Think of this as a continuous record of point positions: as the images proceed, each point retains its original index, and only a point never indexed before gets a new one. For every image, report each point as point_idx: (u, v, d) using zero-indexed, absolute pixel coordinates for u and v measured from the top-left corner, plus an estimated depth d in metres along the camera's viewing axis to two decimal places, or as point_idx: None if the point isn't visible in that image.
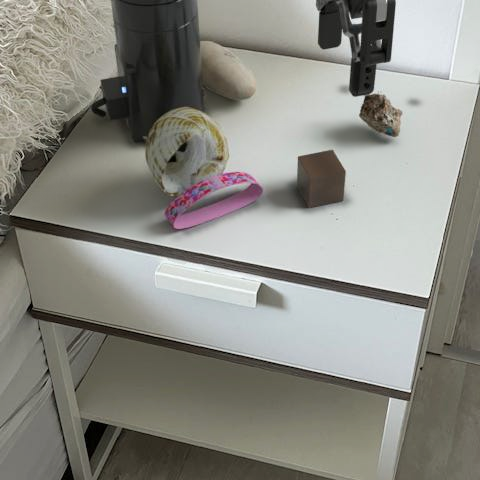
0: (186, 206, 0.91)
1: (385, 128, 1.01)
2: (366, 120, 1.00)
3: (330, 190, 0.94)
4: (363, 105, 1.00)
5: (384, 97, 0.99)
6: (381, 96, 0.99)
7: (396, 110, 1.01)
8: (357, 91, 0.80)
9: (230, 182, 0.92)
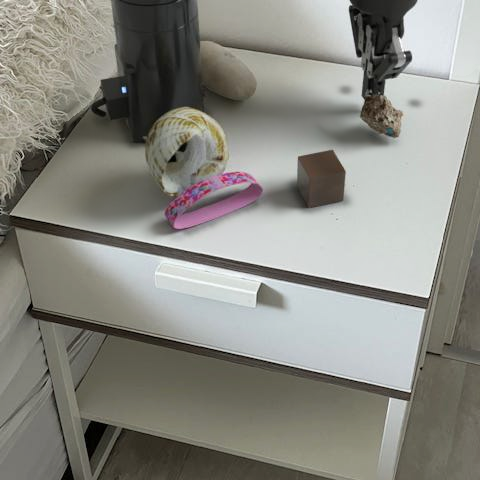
0: (186, 206, 0.91)
1: (386, 129, 1.01)
2: (367, 121, 1.00)
3: (330, 190, 0.94)
4: (363, 106, 1.00)
5: (385, 98, 0.99)
6: (382, 97, 0.99)
7: (397, 111, 1.01)
8: None
9: (230, 182, 0.92)
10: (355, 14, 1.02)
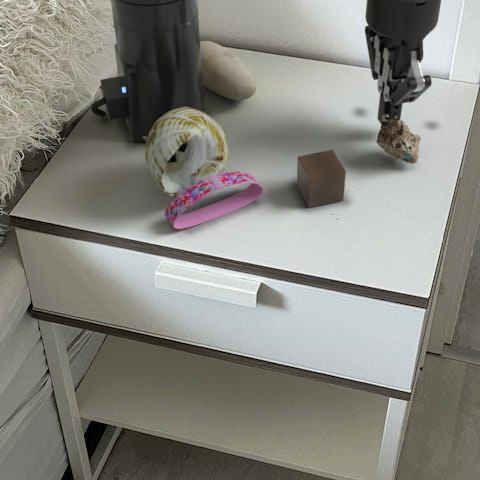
0: (186, 206, 0.91)
1: (403, 155, 0.97)
2: (383, 146, 0.97)
3: (330, 190, 0.94)
4: (380, 131, 0.97)
5: (402, 123, 0.96)
6: (399, 122, 0.96)
7: (414, 136, 0.97)
8: None
9: (230, 182, 0.92)
10: (371, 35, 0.98)
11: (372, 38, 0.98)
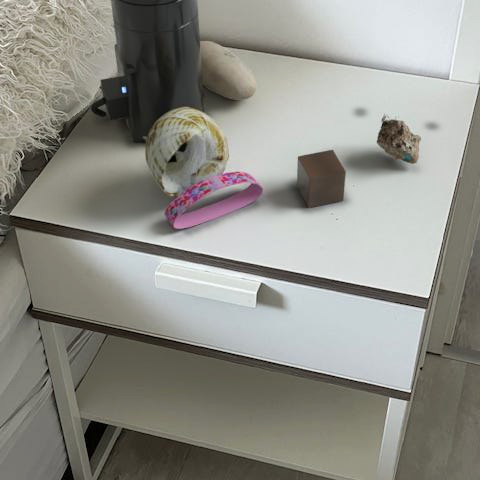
0: (186, 206, 0.91)
1: (404, 155, 0.97)
2: (384, 147, 0.97)
3: (330, 190, 0.94)
4: (380, 131, 0.97)
5: (402, 123, 0.96)
6: (399, 122, 0.96)
7: (415, 136, 0.97)
8: None
9: (230, 182, 0.92)
10: None
11: None
